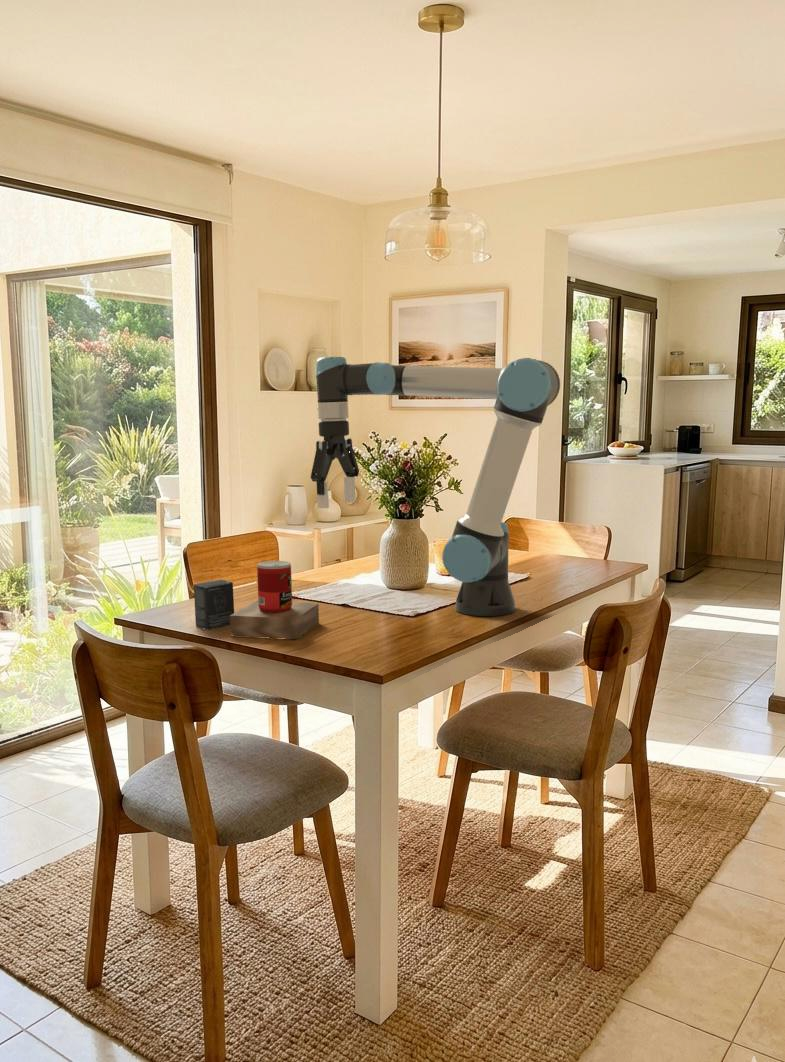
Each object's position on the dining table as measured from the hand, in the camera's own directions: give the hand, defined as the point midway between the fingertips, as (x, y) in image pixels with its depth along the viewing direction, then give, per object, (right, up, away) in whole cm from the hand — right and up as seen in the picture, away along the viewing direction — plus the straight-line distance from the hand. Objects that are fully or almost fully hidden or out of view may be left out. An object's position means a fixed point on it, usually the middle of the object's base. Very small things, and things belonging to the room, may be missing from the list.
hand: (337, 505), depth 230 cm
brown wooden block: (-14, -30, -14) cm, 36 cm away
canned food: (-14, -25, -14) cm, 32 cm away
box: (-29, -30, -8) cm, 42 cm away
